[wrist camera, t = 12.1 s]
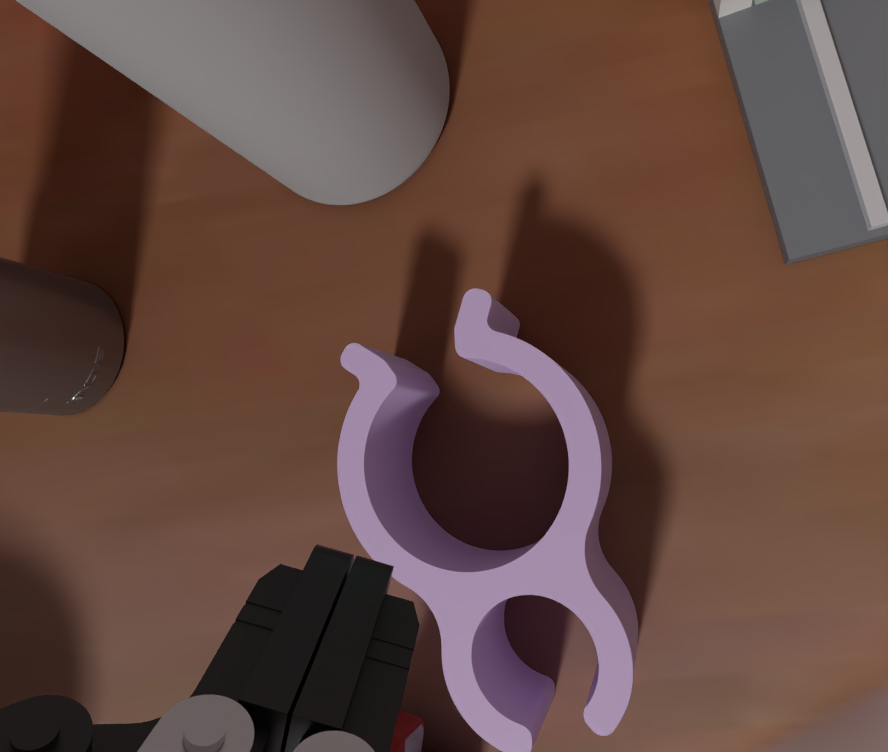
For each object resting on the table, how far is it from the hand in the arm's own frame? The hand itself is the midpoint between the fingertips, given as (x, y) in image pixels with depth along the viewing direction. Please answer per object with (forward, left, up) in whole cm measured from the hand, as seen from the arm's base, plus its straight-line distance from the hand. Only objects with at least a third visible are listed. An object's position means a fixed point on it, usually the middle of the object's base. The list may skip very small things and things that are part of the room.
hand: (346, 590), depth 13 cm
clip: (-2, -2, -26) cm, 26 cm away
